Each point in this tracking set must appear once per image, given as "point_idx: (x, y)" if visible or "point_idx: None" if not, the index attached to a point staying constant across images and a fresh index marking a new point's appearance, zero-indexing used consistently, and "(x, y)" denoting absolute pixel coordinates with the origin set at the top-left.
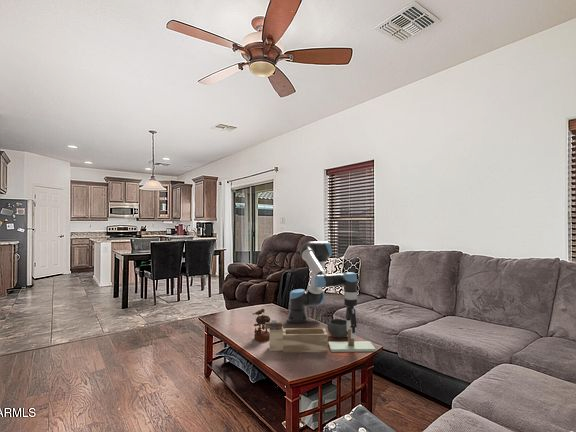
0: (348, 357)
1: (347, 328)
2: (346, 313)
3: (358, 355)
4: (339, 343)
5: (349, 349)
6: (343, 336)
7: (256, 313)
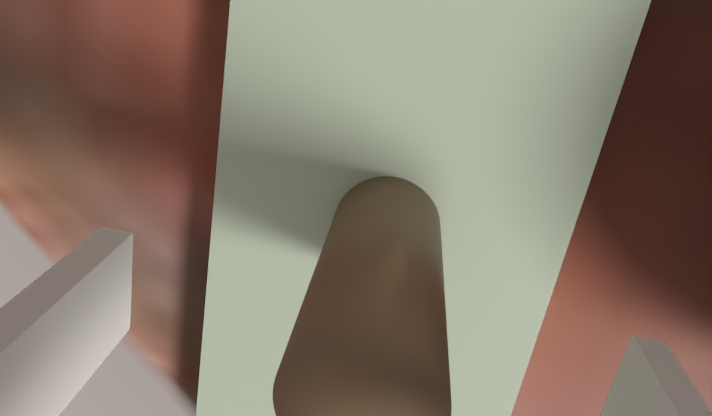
0: (14, 11)
1: (655, 397)
2: None
3: (85, 192)
4: (526, 48)
5: (221, 127)
6: None
7: None
